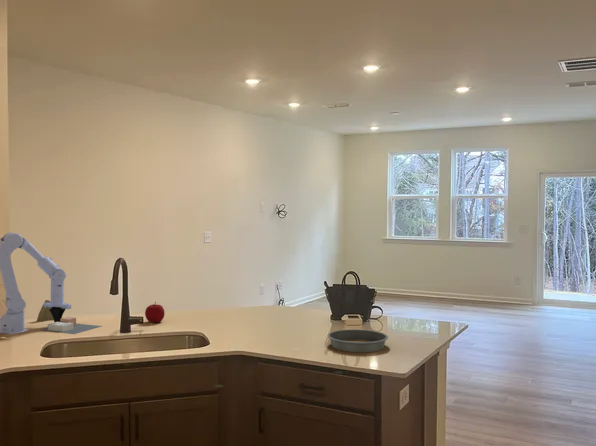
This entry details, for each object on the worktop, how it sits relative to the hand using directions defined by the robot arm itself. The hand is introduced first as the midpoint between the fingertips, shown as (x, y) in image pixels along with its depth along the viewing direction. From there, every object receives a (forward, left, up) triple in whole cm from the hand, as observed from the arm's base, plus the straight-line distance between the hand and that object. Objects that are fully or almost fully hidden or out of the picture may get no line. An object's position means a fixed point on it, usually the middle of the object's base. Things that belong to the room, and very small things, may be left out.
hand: (57, 323), depth 260 cm
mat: (-2, -10, -2) cm, 10 cm away
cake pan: (+19, -138, -2) cm, 140 cm away
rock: (+10, +15, -2) cm, 18 cm away
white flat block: (-6, -7, -1) cm, 9 cm away
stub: (0, -6, -1) cm, 6 cm away
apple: (+27, -34, -2) cm, 44 cm away
